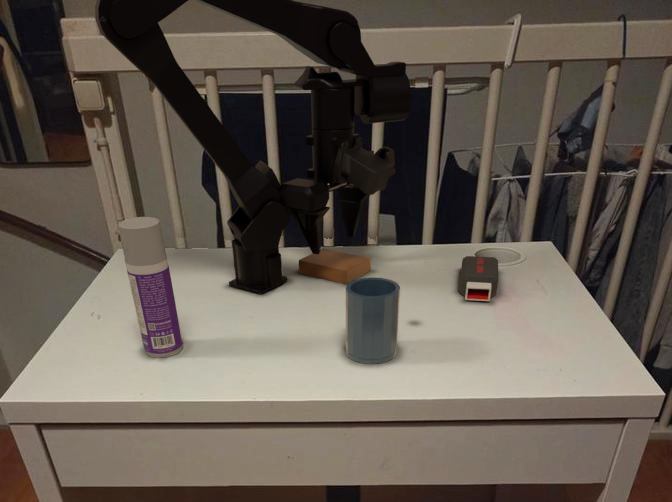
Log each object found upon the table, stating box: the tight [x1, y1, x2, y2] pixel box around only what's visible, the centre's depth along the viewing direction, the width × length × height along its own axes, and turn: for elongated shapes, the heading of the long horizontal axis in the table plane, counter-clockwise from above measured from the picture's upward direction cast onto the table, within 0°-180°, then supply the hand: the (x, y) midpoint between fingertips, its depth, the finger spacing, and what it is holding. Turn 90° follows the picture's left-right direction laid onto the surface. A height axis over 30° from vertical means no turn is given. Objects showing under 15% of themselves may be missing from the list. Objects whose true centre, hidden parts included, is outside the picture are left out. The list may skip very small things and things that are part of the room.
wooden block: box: [298, 247, 372, 285], centre depth 95 cm, size 9×6×2 cm
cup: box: [345, 276, 401, 365], centre depth 72 cm, size 6×6×8 cm
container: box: [117, 216, 184, 359], centre depth 72 cm, size 5×5×15 cm
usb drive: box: [458, 255, 499, 302], centre depth 89 cm, size 5×12×3 cm, turn 167°
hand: (333, 245), depth 93 cm, fingers open, 9 cm apart
